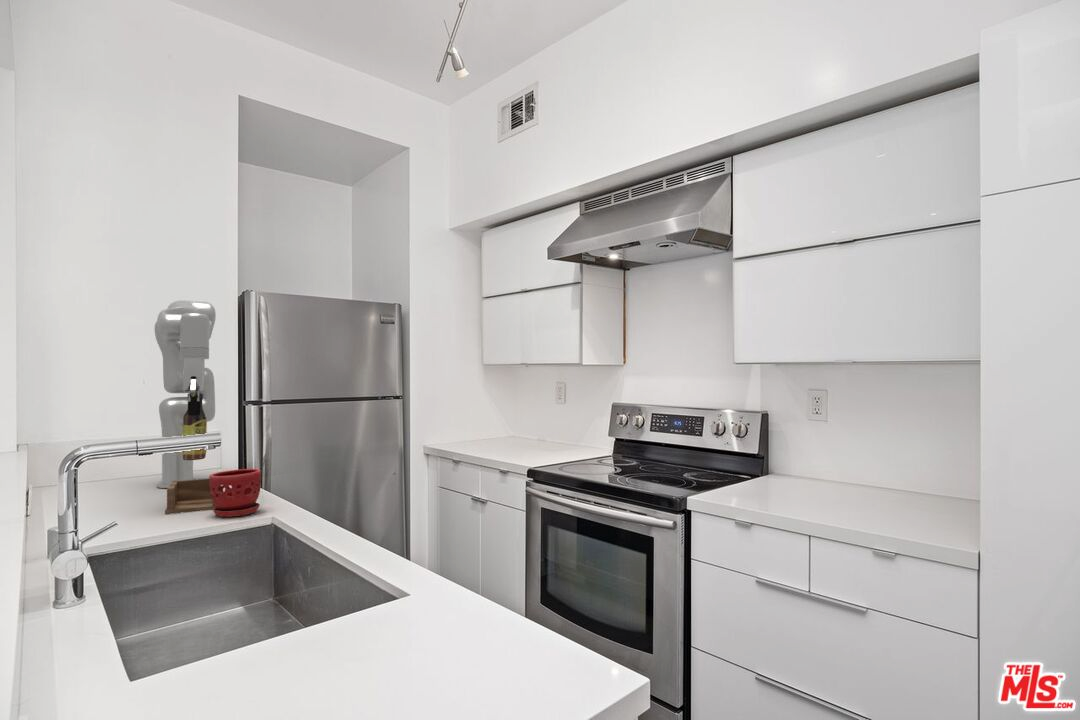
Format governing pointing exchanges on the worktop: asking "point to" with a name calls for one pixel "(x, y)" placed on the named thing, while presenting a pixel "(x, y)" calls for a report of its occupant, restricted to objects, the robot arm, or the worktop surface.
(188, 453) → the sauce bottle
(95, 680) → the worktop surface
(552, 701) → the worktop surface
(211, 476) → the plant pot
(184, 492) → the u rest
